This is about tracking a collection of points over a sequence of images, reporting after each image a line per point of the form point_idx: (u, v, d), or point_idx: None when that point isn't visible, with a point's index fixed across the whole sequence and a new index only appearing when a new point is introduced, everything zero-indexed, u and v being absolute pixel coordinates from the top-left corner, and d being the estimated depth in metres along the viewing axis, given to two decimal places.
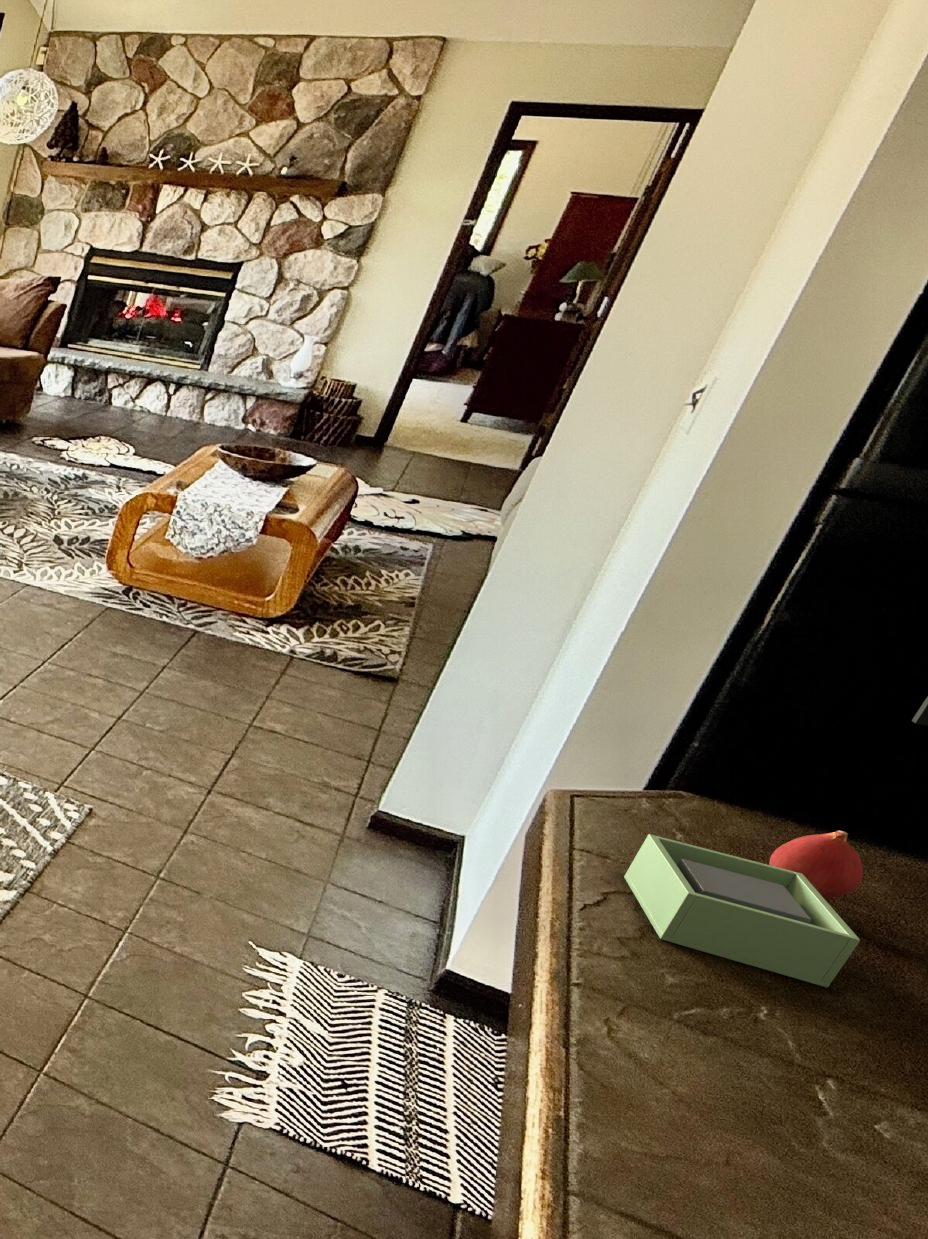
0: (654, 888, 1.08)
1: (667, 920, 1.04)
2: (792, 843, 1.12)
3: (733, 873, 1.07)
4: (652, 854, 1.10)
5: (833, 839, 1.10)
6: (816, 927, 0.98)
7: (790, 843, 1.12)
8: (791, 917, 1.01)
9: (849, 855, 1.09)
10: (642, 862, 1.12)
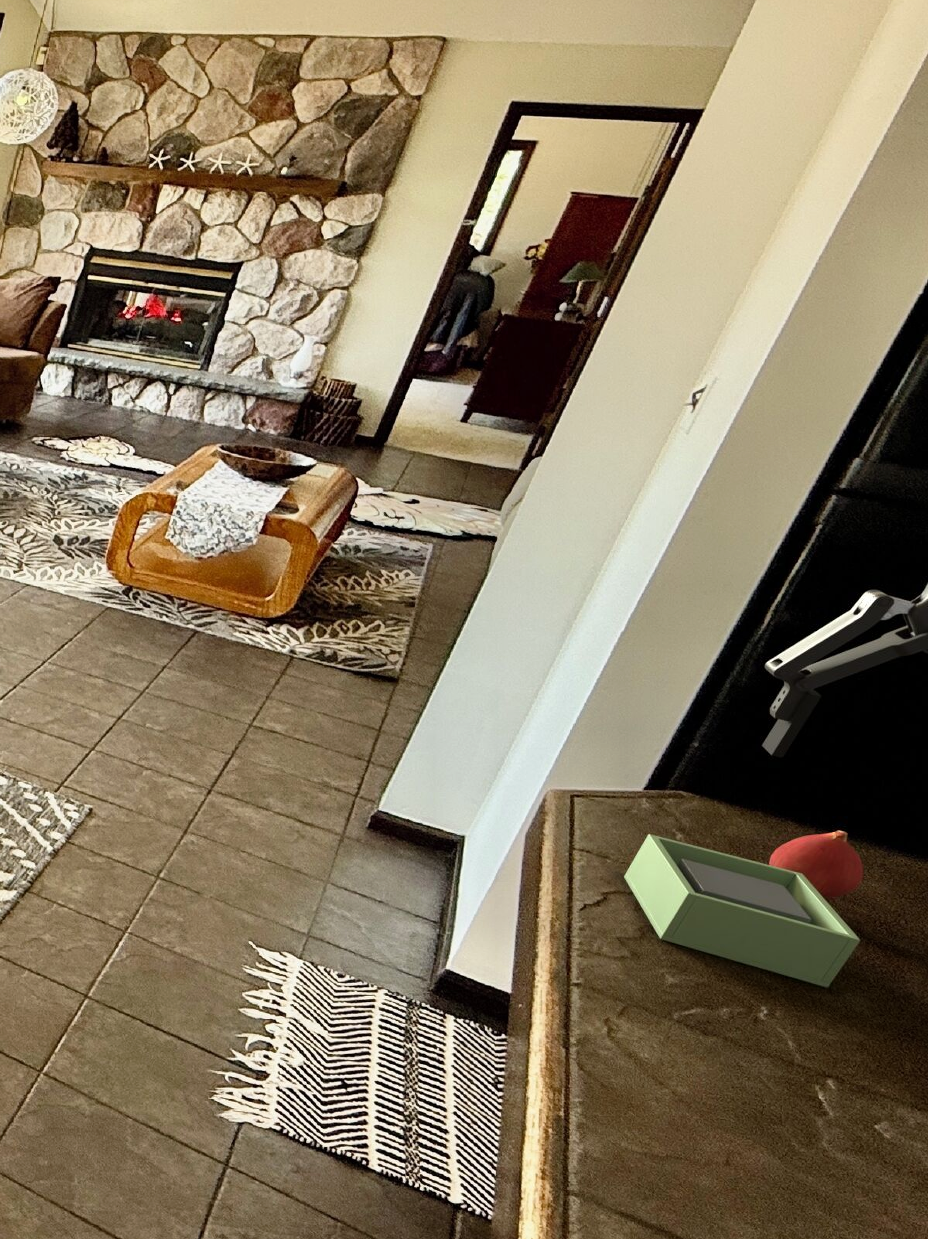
0: (654, 888, 1.08)
1: (667, 920, 1.04)
2: (792, 843, 1.12)
3: (733, 873, 1.07)
4: (652, 854, 1.10)
5: (833, 839, 1.10)
6: (816, 927, 0.98)
7: (790, 843, 1.12)
8: (791, 917, 1.01)
9: (849, 855, 1.09)
10: (642, 862, 1.12)
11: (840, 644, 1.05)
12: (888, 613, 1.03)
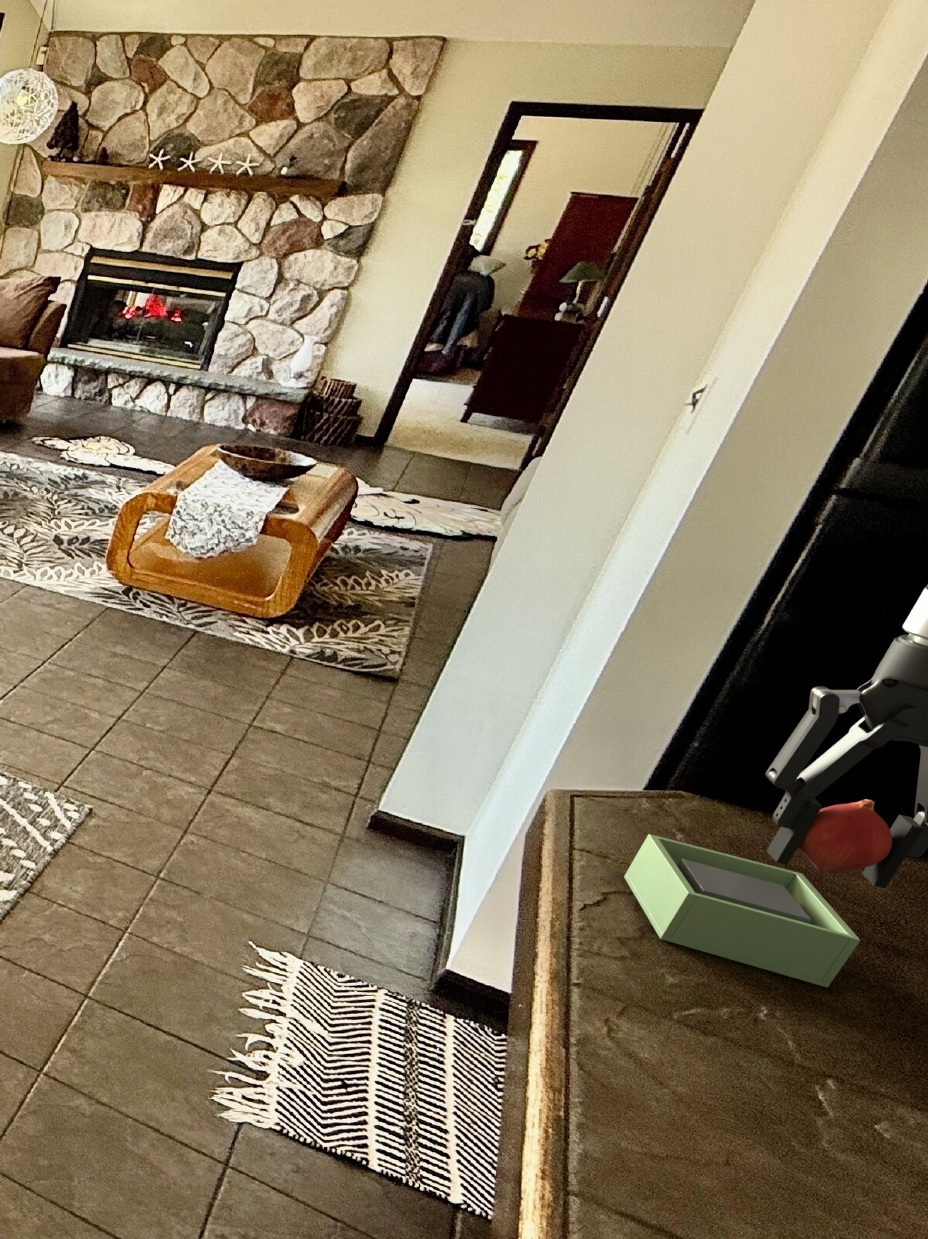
0: (654, 888, 1.08)
1: (667, 920, 1.04)
2: (818, 813, 1.10)
3: (733, 873, 1.07)
4: (652, 854, 1.10)
5: (860, 808, 1.08)
6: (816, 927, 0.98)
7: None
8: (791, 917, 1.01)
9: (877, 824, 1.07)
10: (642, 862, 1.12)
11: (817, 745, 1.08)
12: (841, 708, 1.06)
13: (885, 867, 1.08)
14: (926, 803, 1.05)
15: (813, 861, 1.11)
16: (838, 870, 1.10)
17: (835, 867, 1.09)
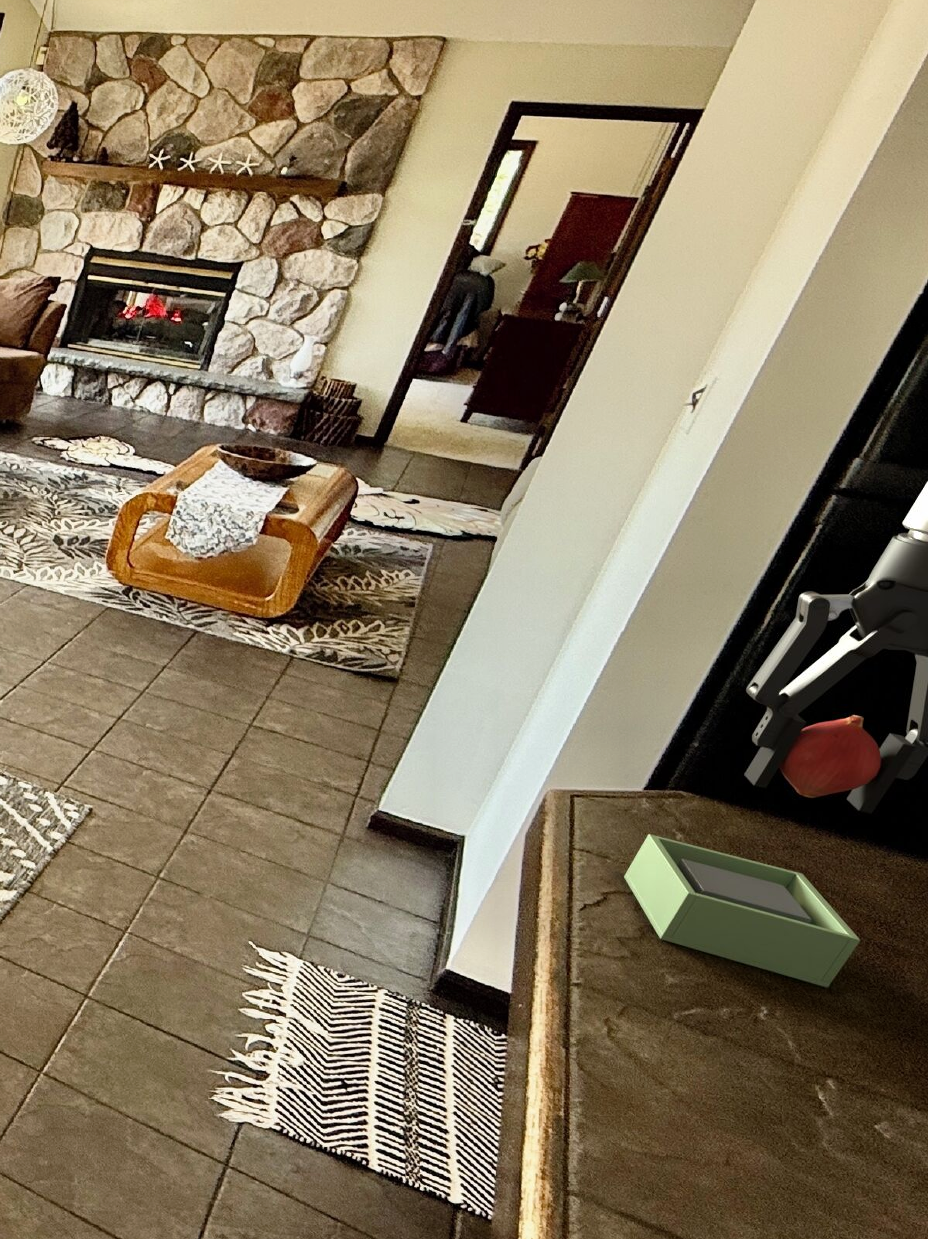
0: (654, 888, 1.08)
1: (667, 920, 1.04)
2: (802, 731, 1.01)
3: (733, 873, 1.07)
4: (652, 854, 1.10)
5: (847, 725, 0.99)
6: (816, 927, 0.98)
7: None
8: (791, 917, 1.01)
9: (865, 741, 0.98)
10: (642, 862, 1.12)
11: (804, 655, 0.99)
12: (831, 613, 0.97)
13: (872, 790, 0.99)
14: (920, 719, 0.96)
15: (794, 784, 1.02)
16: (821, 793, 1.00)
17: (818, 790, 1.00)
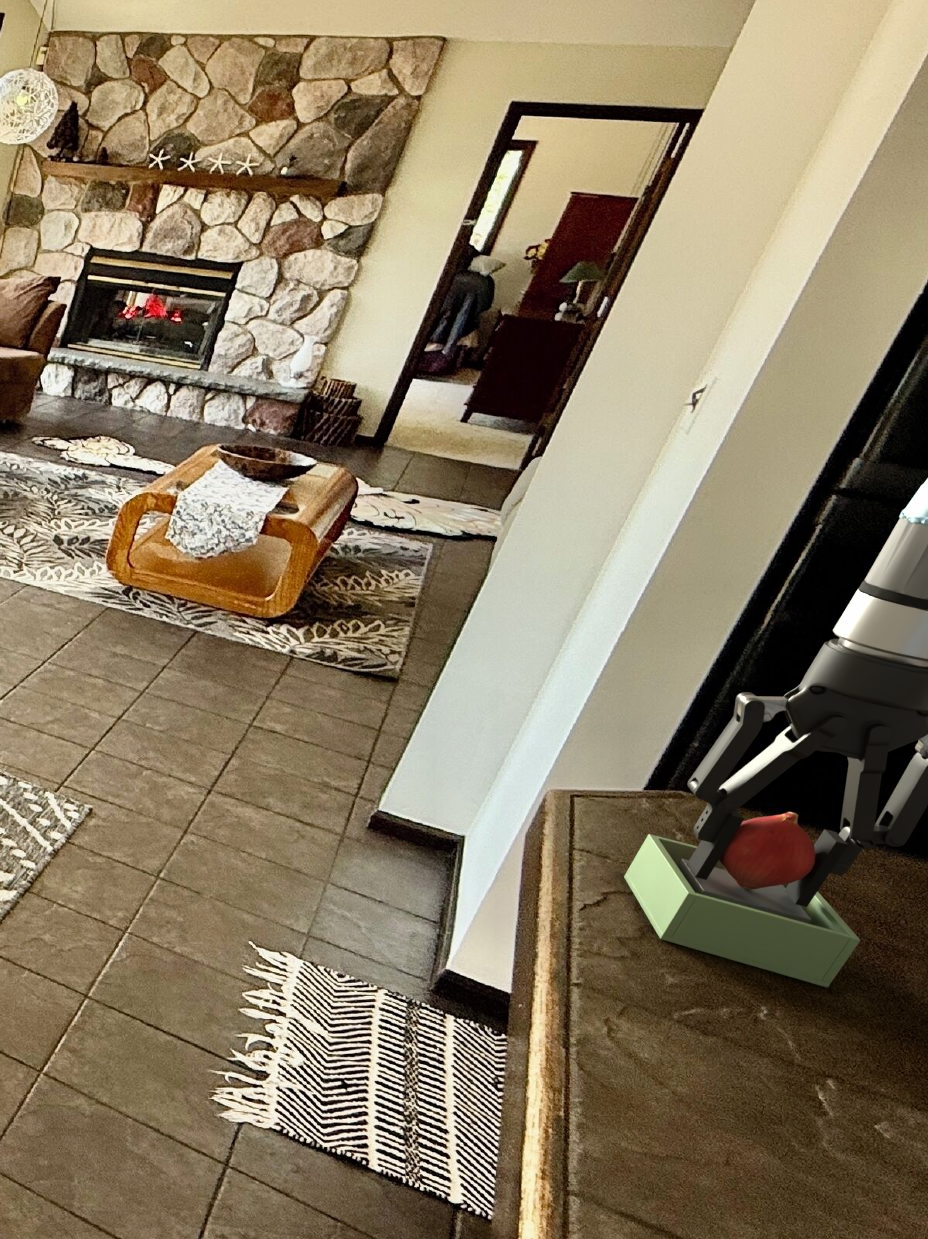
0: (654, 888, 1.08)
1: (667, 920, 1.04)
2: (740, 826, 1.04)
3: None
4: (652, 854, 1.10)
5: (783, 821, 1.02)
6: (816, 927, 0.98)
7: None
8: (791, 917, 1.01)
9: (800, 838, 1.01)
10: (642, 862, 1.12)
11: (741, 754, 1.02)
12: (766, 715, 1.00)
13: (807, 885, 1.02)
14: (852, 818, 0.99)
15: (733, 876, 1.05)
16: (759, 886, 1.04)
17: (756, 883, 1.03)
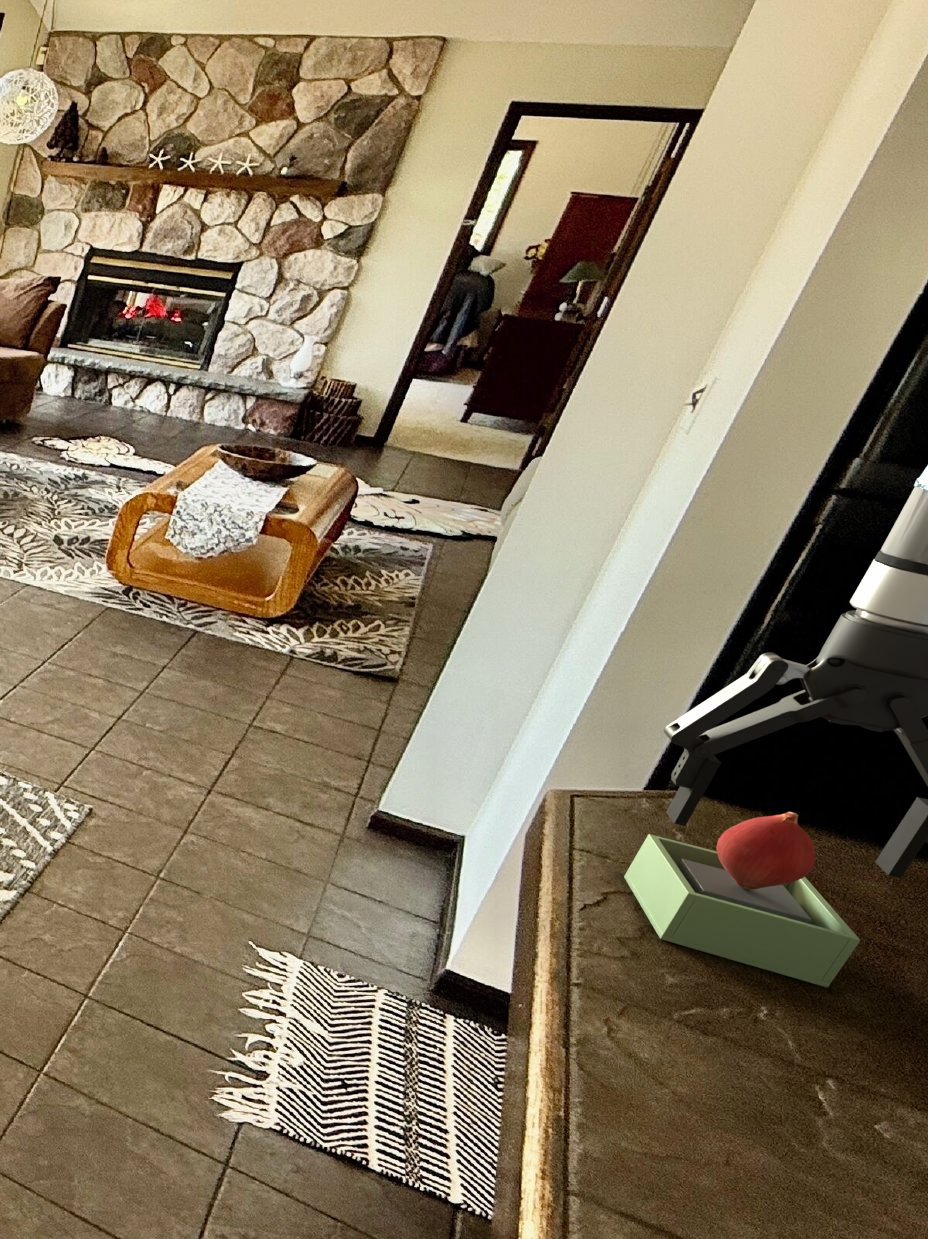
0: (654, 888, 1.08)
1: (667, 920, 1.04)
2: (740, 826, 1.04)
3: None
4: (652, 854, 1.10)
5: (783, 821, 1.02)
6: (816, 927, 0.98)
7: (738, 826, 1.04)
8: (791, 917, 1.01)
9: (800, 838, 1.01)
10: (642, 862, 1.12)
11: (736, 709, 1.01)
12: (783, 678, 0.99)
13: (901, 855, 0.98)
14: None
15: (733, 876, 1.05)
16: (759, 886, 1.04)
17: (756, 883, 1.03)
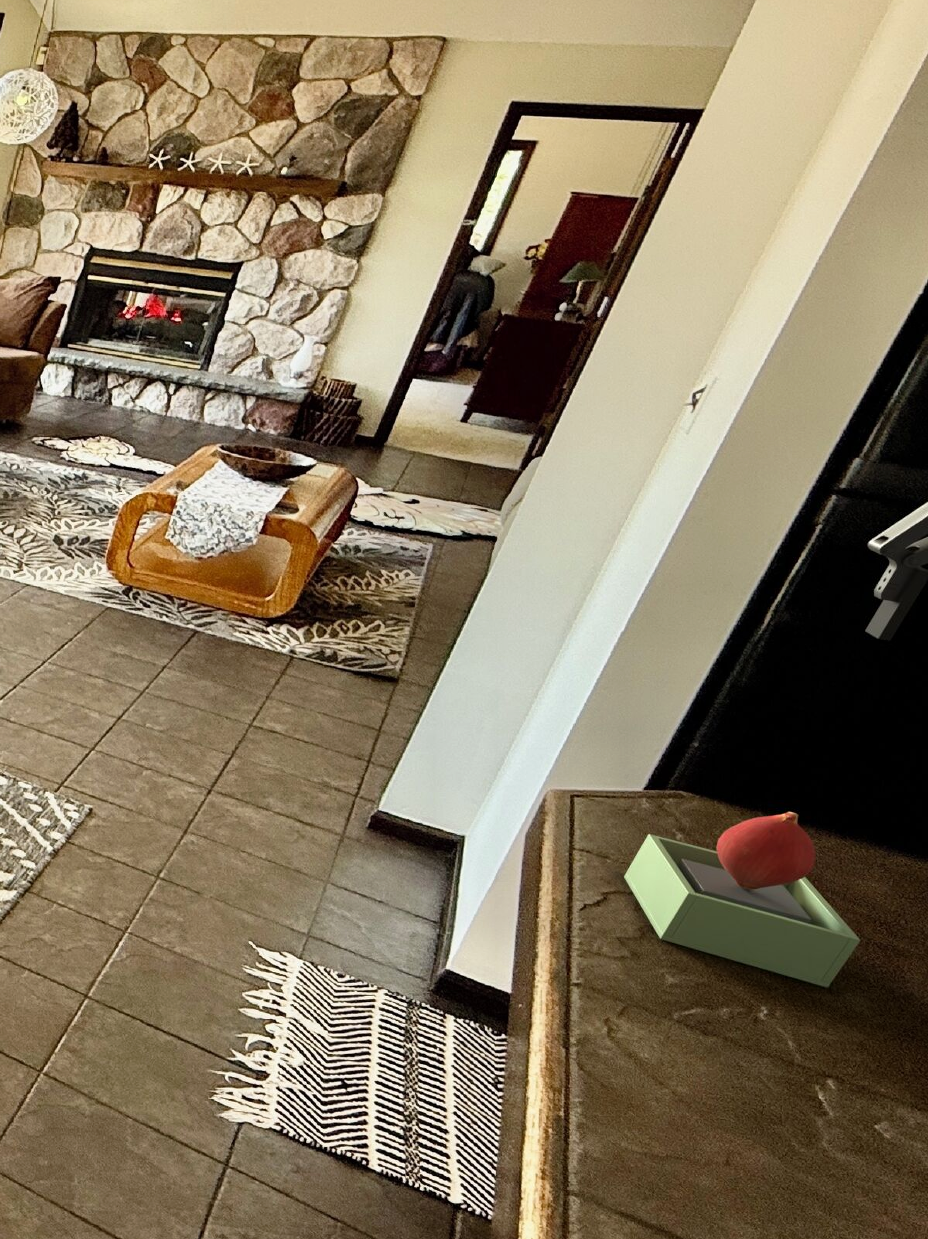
0: (654, 888, 1.08)
1: (667, 920, 1.04)
2: (740, 826, 1.04)
3: None
4: (652, 854, 1.10)
5: (783, 821, 1.02)
6: (816, 927, 0.98)
7: (738, 826, 1.04)
8: (791, 917, 1.01)
9: (800, 838, 1.01)
10: (642, 862, 1.12)
11: None
12: None
13: None
14: None
15: (733, 876, 1.05)
16: (759, 886, 1.04)
17: (756, 883, 1.03)
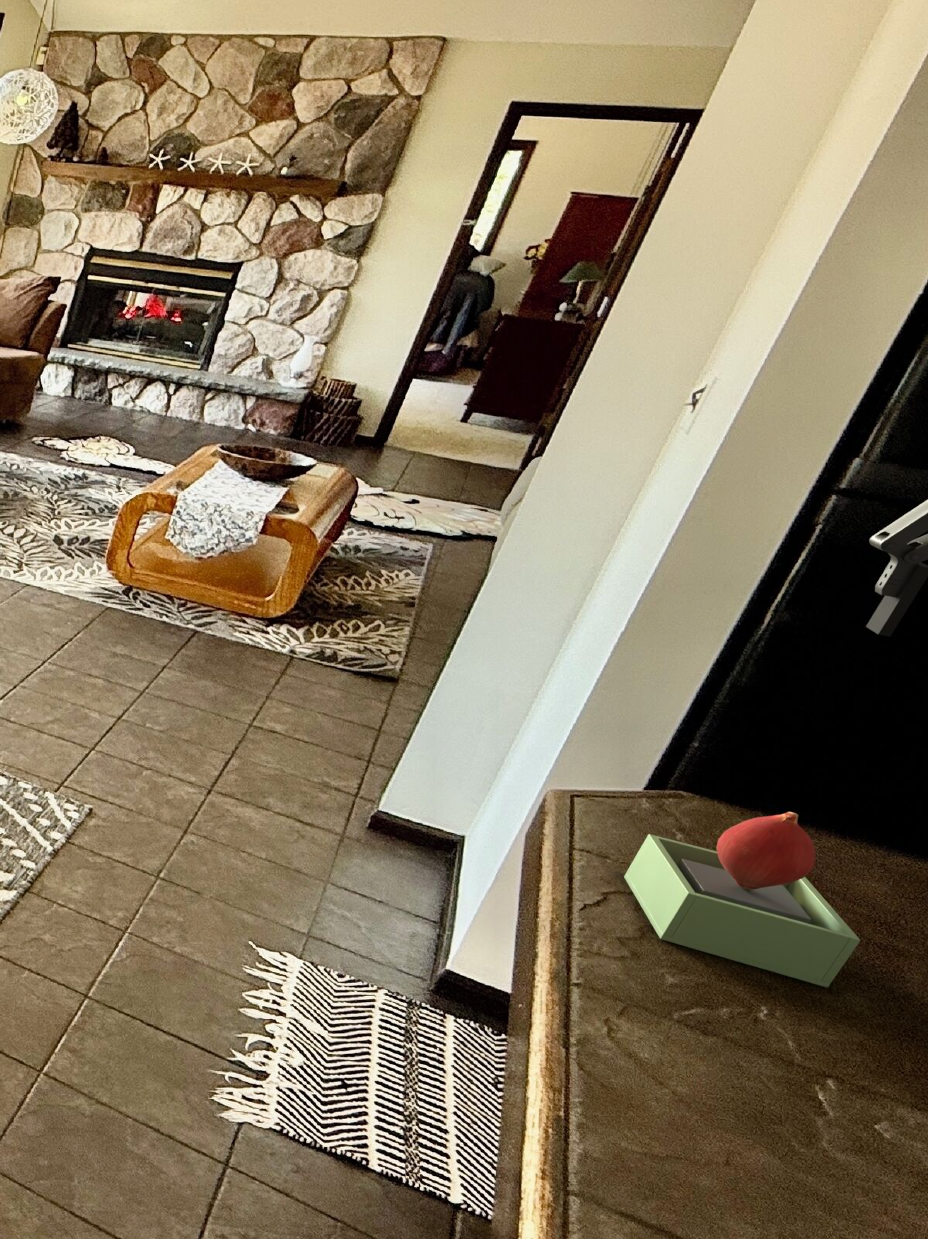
0: (654, 888, 1.08)
1: (667, 920, 1.04)
2: (740, 826, 1.04)
3: None
4: (652, 854, 1.10)
5: (783, 821, 1.02)
6: (816, 927, 0.98)
7: (738, 826, 1.04)
8: (791, 917, 1.01)
9: (800, 838, 1.01)
10: (642, 862, 1.12)
11: None
12: None
13: None
14: None
15: (733, 876, 1.05)
16: (759, 886, 1.04)
17: (756, 883, 1.03)
